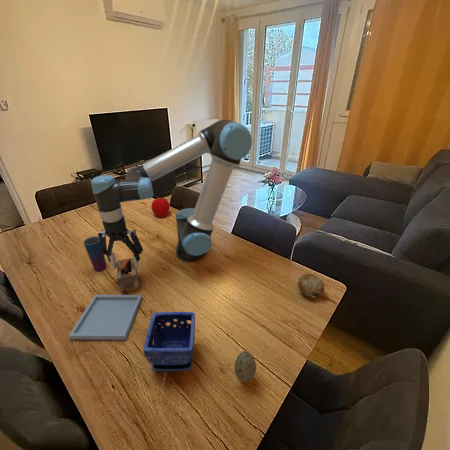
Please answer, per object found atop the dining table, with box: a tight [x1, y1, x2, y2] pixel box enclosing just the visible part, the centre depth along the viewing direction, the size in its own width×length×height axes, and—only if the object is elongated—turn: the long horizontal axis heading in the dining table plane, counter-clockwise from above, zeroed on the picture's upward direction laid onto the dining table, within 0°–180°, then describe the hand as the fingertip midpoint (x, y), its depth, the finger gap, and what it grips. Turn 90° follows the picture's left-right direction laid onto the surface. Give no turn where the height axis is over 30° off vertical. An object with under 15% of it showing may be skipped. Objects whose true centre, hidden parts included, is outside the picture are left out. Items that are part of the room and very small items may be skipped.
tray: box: [68, 294, 143, 341], centre depth 87 cm, size 18×18×2 cm
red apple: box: [151, 197, 171, 218], centre depth 156 cm, size 11×11×13 cm
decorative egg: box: [234, 350, 257, 382], centre depth 68 cm, size 6×6×10 cm
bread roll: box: [297, 273, 325, 299], centre depth 98 cm, size 10×10×8 cm
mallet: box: [119, 258, 130, 275], centre depth 102 cm, size 3×6×10 cm, turn 0°
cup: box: [82, 235, 107, 272], centre depth 109 cm, size 7×7×15 cm
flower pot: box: [143, 311, 196, 372], centre depth 73 cm, size 13×13×12 cm
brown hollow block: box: [116, 257, 140, 292], centre depth 101 cm, size 12×7×6 cm, turn 20°
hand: (126, 267), depth 101 cm, fingers closed on brown hollow block, 8 cm apart
